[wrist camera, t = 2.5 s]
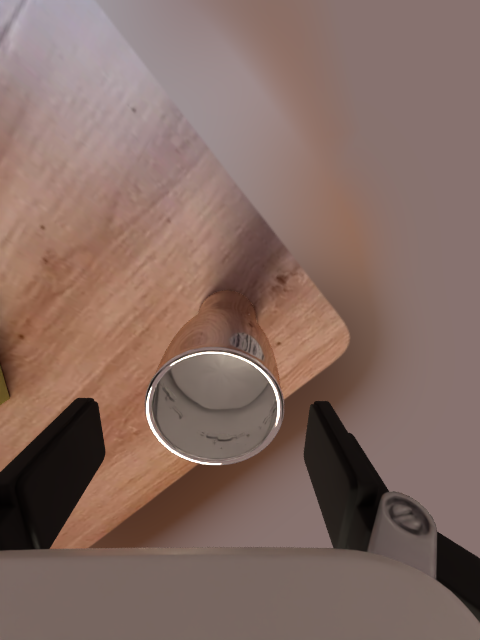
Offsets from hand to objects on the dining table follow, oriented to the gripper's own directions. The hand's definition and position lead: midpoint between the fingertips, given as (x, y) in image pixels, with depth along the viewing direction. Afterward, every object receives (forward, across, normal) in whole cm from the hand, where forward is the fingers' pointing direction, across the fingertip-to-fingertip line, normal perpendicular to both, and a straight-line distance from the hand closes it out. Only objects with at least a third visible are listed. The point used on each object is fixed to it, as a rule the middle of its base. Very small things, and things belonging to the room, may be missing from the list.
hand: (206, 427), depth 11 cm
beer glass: (+16, 0, 0) cm, 16 cm away
